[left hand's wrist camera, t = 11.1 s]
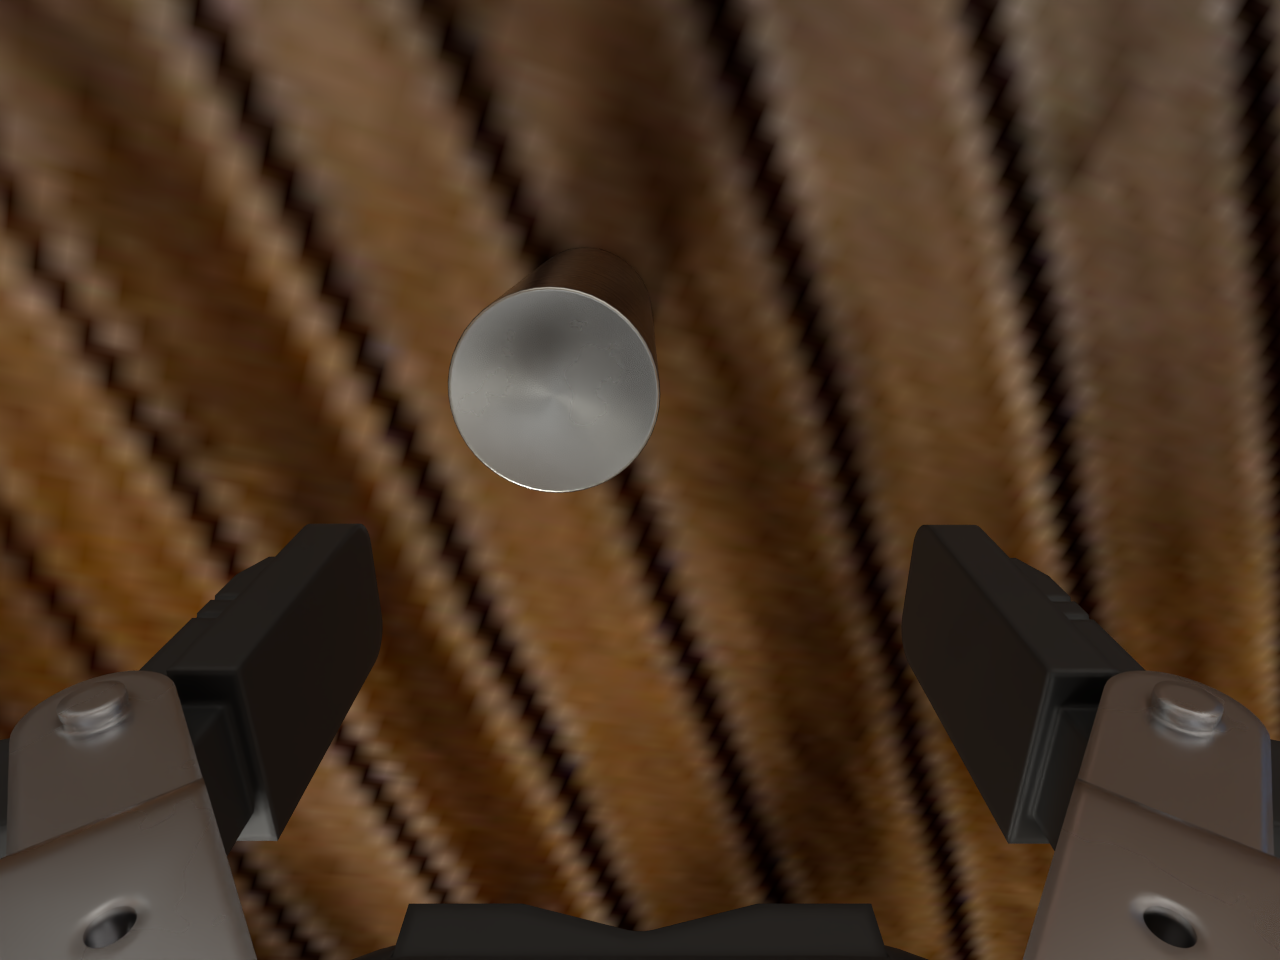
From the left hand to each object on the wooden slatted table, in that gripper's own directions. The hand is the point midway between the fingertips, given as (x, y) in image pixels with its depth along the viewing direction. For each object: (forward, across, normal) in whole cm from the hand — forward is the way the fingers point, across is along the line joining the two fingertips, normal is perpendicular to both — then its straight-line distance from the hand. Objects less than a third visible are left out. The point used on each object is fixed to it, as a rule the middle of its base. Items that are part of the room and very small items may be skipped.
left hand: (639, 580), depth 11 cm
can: (+19, +2, -1) cm, 20 cm away
